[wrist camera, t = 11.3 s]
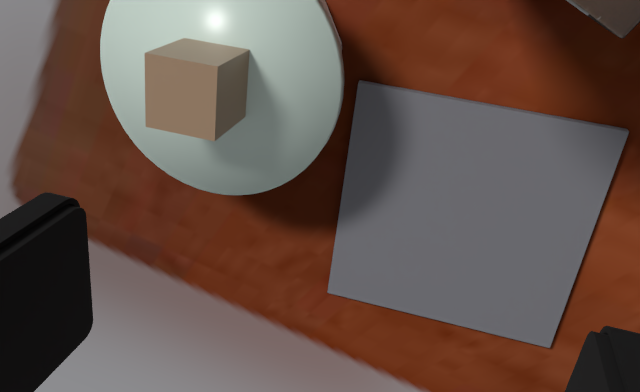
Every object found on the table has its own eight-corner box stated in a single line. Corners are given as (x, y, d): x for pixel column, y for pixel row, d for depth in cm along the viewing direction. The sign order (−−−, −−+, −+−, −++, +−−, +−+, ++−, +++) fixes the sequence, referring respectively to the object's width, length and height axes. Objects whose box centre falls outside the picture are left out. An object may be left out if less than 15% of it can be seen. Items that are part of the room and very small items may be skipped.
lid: (362, -42, 31) (338, -35, 26) (327, 211, 38) (303, 253, 33) (104, -80, 34) (39, -80, 29) (113, 163, 40) (62, 196, 35)
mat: (627, 128, 37) (629, 131, 36) (548, 343, 44) (549, 348, 44) (360, 80, 40) (358, 82, 39) (329, 288, 47) (327, 292, 47)
